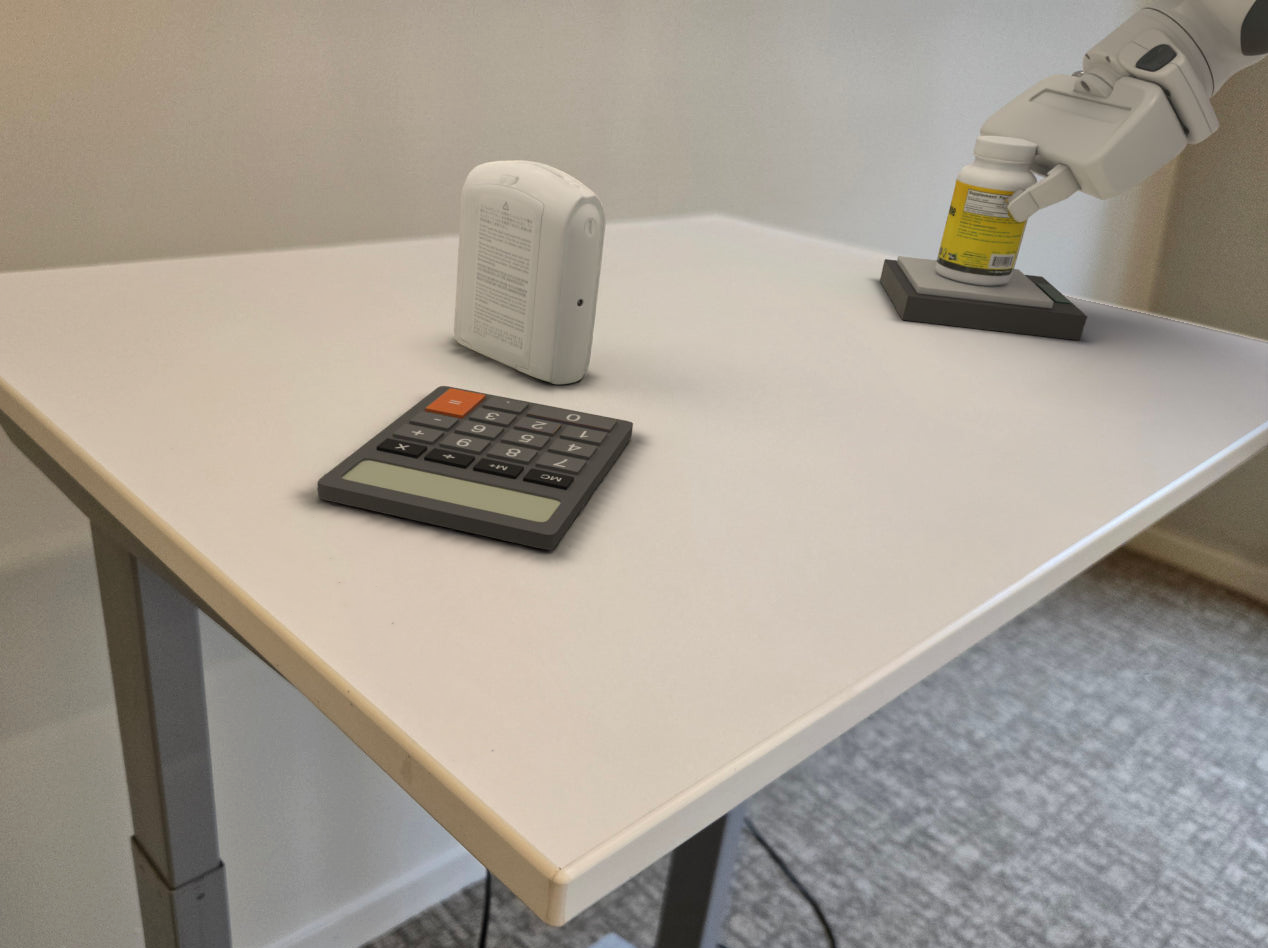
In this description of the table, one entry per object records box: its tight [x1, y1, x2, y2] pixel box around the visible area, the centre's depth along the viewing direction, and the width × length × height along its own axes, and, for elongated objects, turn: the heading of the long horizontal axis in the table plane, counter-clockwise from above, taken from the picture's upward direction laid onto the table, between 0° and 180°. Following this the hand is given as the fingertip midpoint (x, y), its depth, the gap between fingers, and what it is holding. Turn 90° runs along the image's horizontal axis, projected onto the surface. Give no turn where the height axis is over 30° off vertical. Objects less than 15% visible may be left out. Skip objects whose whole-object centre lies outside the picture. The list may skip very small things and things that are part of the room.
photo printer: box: [453, 159, 607, 385], centre depth 67 cm, size 10×4×12 cm, turn 45°
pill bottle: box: [936, 135, 1038, 286], centre depth 88 cm, size 6×6×11 cm
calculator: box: [317, 385, 634, 550], centre depth 55 cm, size 12×1×15 cm
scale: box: [879, 255, 1088, 341], centre depth 91 cm, size 14×13×3 cm
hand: (984, 202), depth 88 cm, fingers open, 8 cm apart
